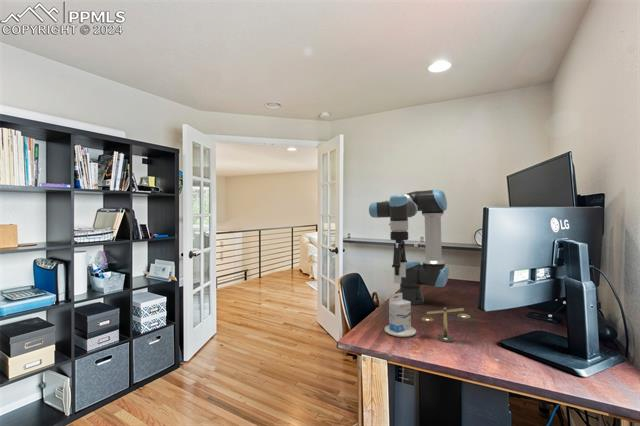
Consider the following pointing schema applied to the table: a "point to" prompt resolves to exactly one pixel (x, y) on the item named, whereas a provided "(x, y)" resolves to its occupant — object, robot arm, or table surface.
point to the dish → (401, 334)
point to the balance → (445, 322)
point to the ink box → (399, 313)
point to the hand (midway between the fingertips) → (400, 280)
